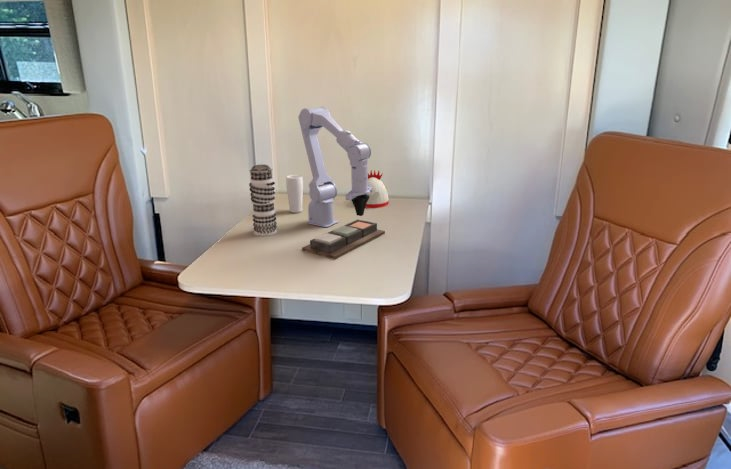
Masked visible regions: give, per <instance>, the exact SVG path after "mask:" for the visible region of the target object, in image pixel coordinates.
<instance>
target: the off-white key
mask: <svg viewBox="0 0 731 469" xmlns="http://www.w3.org/2000/svg"><path fill="white" fill-rule="evenodd" d="M314 239H315V241H318V242H322V243H326V244H332V243H334V242H336V241H338V240H340V239H342V237H341V236H338V235H333V234H329V233H328V232H326V233H324V234H321V235H319V236H316V237H314Z"/></svg>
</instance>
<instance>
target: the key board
mask: <svg viewBox="0 0 731 469" xmlns="http://www.w3.org/2000/svg"><path fill="white" fill-rule="evenodd" d="M356 222H363V223H368V224H372V225H370V226H368V227H366V228H363V229H362V228H358V227H353V226H350V225H352V224H354V223H356ZM343 226H347V227H352V228H356V229H358V231H357V232H355V233H353V234H351V235H349V236H344V235H340V234H335V233H332V230H331V231H328V232H327V233H329V234H333V235H338V236H341V237H342V239H340V240H338V241H336V242H334V243H332V244H326V243H322V242H318V241H315V238H313V239H310V241H309V244H307V245H305V246H303V247H301V251H303V252H306V253H309V254H313V255H318V256H321V257H324V258H329V259H332V260H336V259H338V258H341V257H342V256H344V255H346V254H348V253H350V252H352V251H354V250H356V249H358V248H360V247H362V246H363V245H366V244H367V243H369V242H372V241H373V240H375V239H377V238H379V237H381V236H383V235H385V233H386V231H385V230H381V229H378V223H377V222H372V221H367V220H362V219H355V220H353V221H351V222H349V223H346V224H344V225H343Z"/></svg>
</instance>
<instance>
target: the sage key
mask: <svg viewBox="0 0 731 469" xmlns="http://www.w3.org/2000/svg"><path fill="white" fill-rule="evenodd" d="M331 231H332V233H335V234H340V235H344V236H349V235H351V234H353V233H355V232H357V231H358V229H356V228H352V227H347V226H344V225H341V226H339V227H337V228H335V229H332V230H331Z"/></svg>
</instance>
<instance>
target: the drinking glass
mask: <svg viewBox="0 0 731 469" xmlns="http://www.w3.org/2000/svg"><path fill="white" fill-rule="evenodd" d="M285 178H286V180H285V181H286V191H287V192H286V193H287V197H288V198H287V199H288V205H289V212H290V213H292V214H299V213H302V212H303V199H304V198H303V196H304V195H303V194H304V179H303V175H301V174H289V175H287V176H286V177H285Z"/></svg>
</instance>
